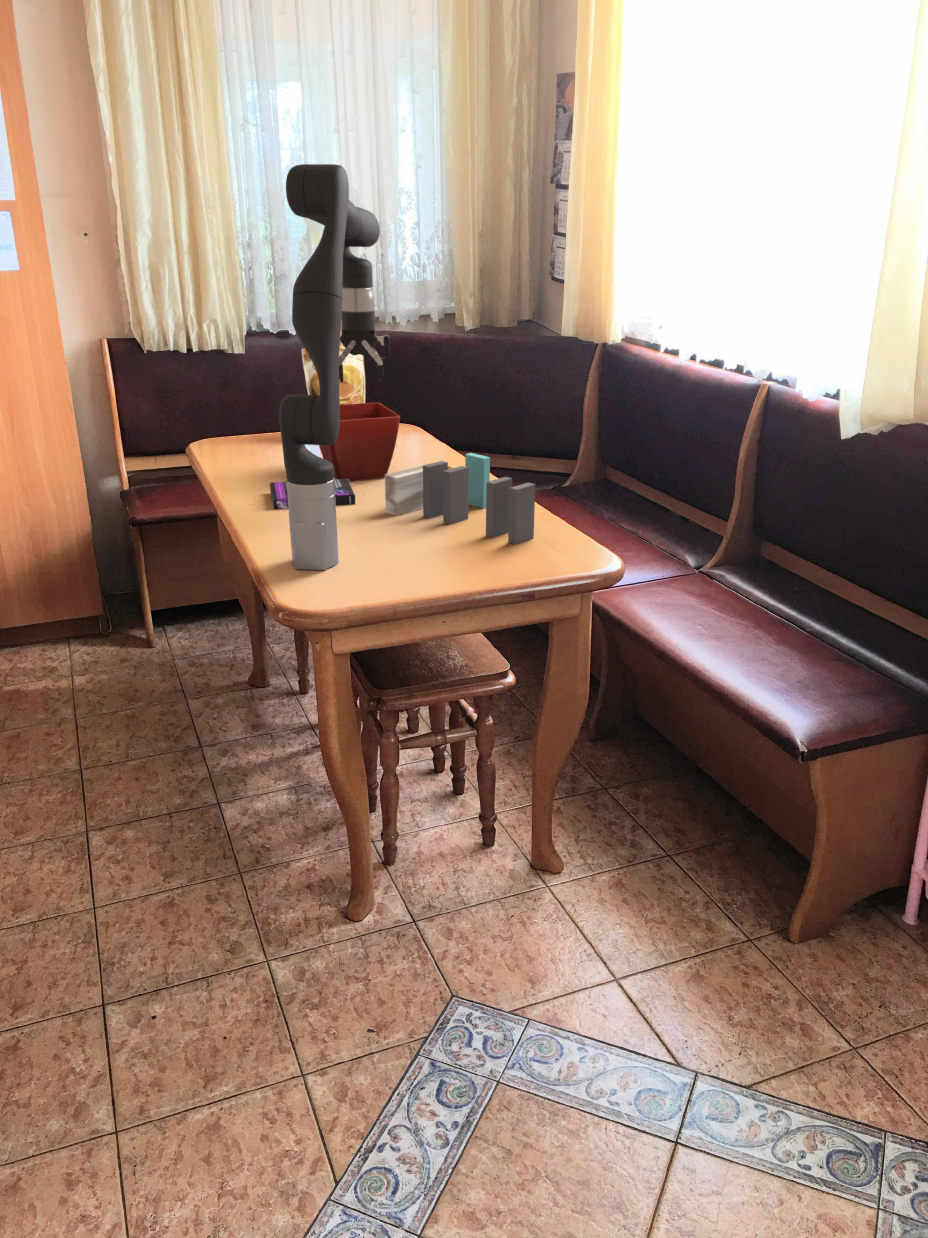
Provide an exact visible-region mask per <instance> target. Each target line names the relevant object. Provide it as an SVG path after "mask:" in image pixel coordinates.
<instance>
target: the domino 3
mask: <svg viewBox="0 0 928 1238" xmlns="http://www.w3.org/2000/svg"><path fill="white" fill-rule="evenodd" d="M464 459H465V461H464V462H465V465H464V467H468V468H469V477H468V504H469V505H468V506H472V507H475V506H476V508H479V507H480V508H479V509H483V508H484V509H486V485H487V482H488V481H491V480H490V478H491V477H490V475H491V474H490V473H491V472H490V471H491V469H490V468H491V457H489V456H486V455H481V454H477V453H475V452H474V453H473V452H468V453H465V458H464Z"/></svg>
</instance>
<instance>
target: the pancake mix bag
mask: <svg viewBox="0 0 928 1238" xmlns="http://www.w3.org/2000/svg"><path fill="white" fill-rule="evenodd" d="M344 349H345V347H344V345H343V344H340V350H339V357H340V355H341V354H342V352H343V351H344ZM300 352H301V360H302V369H303V372H304V378H305V379H304V380H305V385H306V387H305V388H306V390H307V391H306V392H307V395H320V386H319V379H318V375H317V372H316V369H315V367H314V364H313V362H312V360H311V358H310V356H309V354H308V353H307V351H306V349H305V348H304V347H303V348H301V350H300ZM342 365H343V377H344V381H343V382H340V380H339V396H340V405H343V404H359V403H366V371H365V369H366V368H365V355H360V354H359V355H352V354H350V353H349V354H348V356H347V357H346V358H345V360H344V361H343V363H342Z"/></svg>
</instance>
